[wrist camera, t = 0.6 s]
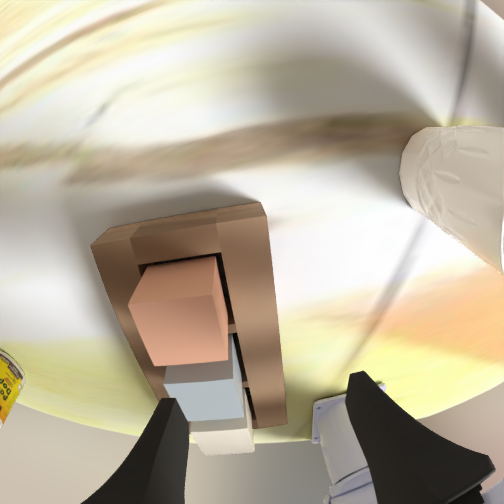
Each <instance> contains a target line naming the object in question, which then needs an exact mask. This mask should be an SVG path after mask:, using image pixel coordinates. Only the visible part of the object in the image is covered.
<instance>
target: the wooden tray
mask: <svg viewBox="0 0 504 504" xmlns="http://www.w3.org/2000/svg"><path fill="white" fill-rule="evenodd" d="M91 249H92V252H93V255H94V258H95V261H96V264H97V267H98V270H99V272H100V275H101V278H102V281H103V283H104V286H105V289H106V291H107V294H108V296H109V299H110V301H111V304H112V306H113V309H114V311H115V313H116V316H117V318H118V320H119V323H120V325H121V327H122V329H123V332H124V334H125V336H126V338H127V340H128V342H129V344H130V347H131V349H132V351H133V353H134V355H135V357H136V359H137V361H138V363H139V365H140V367H141V369H142V371H143V372H144V374H145V376H146V378H147V380H148V382H149V384H150V385H151V387H152V389H153V391H154V393H155V394H156V396H157V398H158V400H159V401H160V399H161V398H170V396H169V394H168V392H167V390H166V388H165V386H164V385H163V383H164V378H165V373H166V368H167V366H154V364H153V362H152V360H151V358H150V356H149V354H148V352H147V349H146V347H145V345H144V343H143V340H142V338H141V336H140V334H139V331H138V329H137V326H136V324H135V322H134V319H133V317H132V314H131V312H130V309H129V307H128V303H129V301H130V299H131V297H132V295H133V293H134V291H135V289H136V287H137V285H138V284H139V282H140V280H141V278H142V276H143V274H144V272H145V270H146V269H147V267H148V266H153V265H156V264H155V262H158V261H165V260H172V259H178V258H185V257H191V256H198V255H204V254H211V253H218V252H221V254H222V259H223V264H224V269H225V275H226V280H227V285H228V290H229V295H230V298H228V299H224V300H225V305H226V309H227V314H228V334H229V333H237V334H238V339H239V343H240V348H241V353H242V354H241V355H237V358H238V362H239V367H240V371H241V378H242V388H245V387H249V389H250V393H251V395H247V399H248V403H249V407H250V411H251V418H252V428H253V429H257V428H265V427H272V426H278V425H284V424H287V411H286V400H285V388H284V377H283V366H282V355H281V345H280V335H279V324H278V315H277V305H276V295H275V286H274V276H273V267H272V258H271V249H270V240H269V232H268V223H267V216H266V213H265V211H264V209H263V207H262V204H261V202H258V203H251V204H244V205H237V206H230V207H224V208H218V209H211V210H205V211H199V212H193V213H187V214H182V215H176V216H170V217H165V218H159V219H154V220H149V221H143V222H138V223H133V224H128V225H123V226H118V227H113V228H109V229H108V230H107V231H106V232H105V233H103V234H102V235H101V236H100V237H99V238H98V239H97V240H96V241H95V242H94V243H93V244H92V245H91ZM188 423H189V434H191V433H190V426H191V421H188Z"/></svg>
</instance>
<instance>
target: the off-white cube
mask: <svg viewBox="0 0 504 504" xmlns="http://www.w3.org/2000/svg"><path fill="white" fill-rule="evenodd" d="M242 393H243V406H244V417H241V418H231V419H220V420H205V421H191V426H190V433H191V435H192V436H193V438H194V440H195V441H196V443H197V444H198V446H199V447H200V449H201V451H202V452H203V454H204V455H222V454H236V453H247V452H255V450H254V449H255V448H254V438H253V428H252V418H251V411H250V407H249V403H248V399H247V395H246V391H245V388H242Z"/></svg>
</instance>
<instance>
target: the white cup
mask: <svg viewBox="0 0 504 504" xmlns="http://www.w3.org/2000/svg"><path fill="white" fill-rule="evenodd" d="M399 176H400V181H401V186H402V191H403V195H404V196H405V198H406V199H407V201H408V202H409V204H410V205H411V207H412V208H413V209H414V210H415V211H417V212H418V213H420V214H422V215H423V216H425V217H426V218H428V219H429V220H431V221H432V222H434V223H435V224H436V225H437V226H438V227H439V228H440V229H442V230H443V231H444V232H445V233H447V234H448V235H450V236H451V237H452V238H454V239H455V240H456V241H458V242H459V243H460V244H461V245H463V246H464V247H465V248H467V249H468V250H470V251H471V252H472V253H474V254H475V255H476V256H478V257H479V258H480V259H482V260H483V261H484V262H485V263H487V264H488V265H489V266H490V267H492V268H493V269H494V270H495V271H497V272H498V273H499V274H500V275H502V276H503V277H504V127H493V126H454V127H425V128H424V129H422V130H420V131H419V132H417V133H416V134H414V135H412V136H411V138H410V140H409V142H408V144H407V145H406V147H405V149H404V150H403V152H402V158H401V165H400V171H399Z"/></svg>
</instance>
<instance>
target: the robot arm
mask: <svg viewBox="0 0 504 504" xmlns="http://www.w3.org/2000/svg"><path fill="white" fill-rule="evenodd" d="M385 389H386V385H385V383H381V384H378V385H377V384H376V383H375V382H374V381H373V380H372V379H371V378H370V377H369V375H368V374H367V373H366V372H365V371H360V372H356V373H352V374H350V376H349V382H348V388H347V393H346V394H343V395H339V396H334V397H330V398H326V399H322V400H317V401H315V402H314V404H313V421H312V439H311V441H312V443H319V442H320V443H321V447H322V451H323V454H324V457H325V462H326V466H327V469H328V473H329V477H330V479H331V481H332V482H333V486H331V487H329V492H330V495H327V496H326V497H325V498H324V501H323V503H322V504H504V478H503V479H502V480H501V481H499V482H498V483H497V484H496V485H494V486H493V487H492V488H490V489H489V490H487V491H486V492H484V493H483V494H482V495H481V494H480V492H479V491H480V490H482V487H481V485H480V484H481V483H482V482H483V481H484V480H486V479H487V478H488V477H489V476H490V475H492V474H493V473H494V472H495V470H496V469H495V467H494V465H493V463H492V461H491V459H490V458H489V456H488V455H485V454H481V453H478V452H475V451H472V450H469V449H467V448H464V447H462V446H459V445H457V444H455V443H453V442H451V441H449V440H447V439H445V438H443V437H441V436H439V435H438V434H436V433H434V432H433V431H431V430H430V429H428V428H427V427H425V426H424V425H422V424H421V423H419V422H418V421H417V420H415V419H414V418H413V417H412V416H410V415H409V414H408V413H407V412H405V411H404V410H403V409H402V408H401V407H400V406H399V405H398V404H396V403H395V402H394V401H393V400H392V399H391V398H390V397H389V396H388V395H387V394H386V393H385ZM188 449H189V423H188V421H187V419H186V417H185V415H184V413H183V411H182V409H181V407H180V405H179V403H178V401H177V399H176V398H161V399H160V401H159V403H158V405H157V407H156V409H155V411H154V413H153V415H152V417H151V419H150V420H149V422H148V424H147V426H146V428H145V429H144V431H143V433H142V434H141V436H140V438H139V440H138V441H137V443H136V444H135V446H134V448H133V449H132V450H131V452H130V453H129V455H128V456H127V457H126V459H125V460H124V461H123V463H122V464H121V465H120V467H119V468H118V469H117V470H116V471H115V473H114V474H113V475H112V476H111V477H110V478H109V479H108V480H107V481H106V482H105V483H104V484H103V485H102V486H101V487H100V488H99V489H98V490H97V491H96V492H95V493H93V494H92V495H91V496H90V497H89V498H88V499H86V500H85V501H84V502H82V503H81V504H185V499H184V489H185V488H184V487H185V477H186V468H187V459H188Z"/></svg>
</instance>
